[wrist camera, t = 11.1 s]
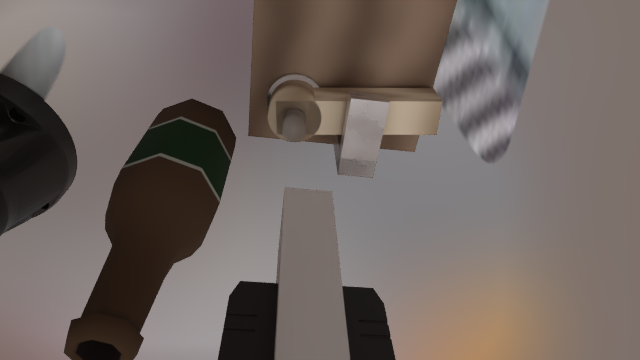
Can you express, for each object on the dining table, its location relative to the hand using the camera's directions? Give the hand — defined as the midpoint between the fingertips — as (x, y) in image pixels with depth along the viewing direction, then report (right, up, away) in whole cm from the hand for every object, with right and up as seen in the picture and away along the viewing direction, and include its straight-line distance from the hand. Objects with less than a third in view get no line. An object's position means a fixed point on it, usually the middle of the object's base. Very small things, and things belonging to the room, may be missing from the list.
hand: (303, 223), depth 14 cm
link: (+3, +8, +24) cm, 25 cm away
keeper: (+1, +8, +25) cm, 26 cm away
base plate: (+3, +13, +23) cm, 27 cm away
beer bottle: (-11, +6, +27) cm, 30 cm away
